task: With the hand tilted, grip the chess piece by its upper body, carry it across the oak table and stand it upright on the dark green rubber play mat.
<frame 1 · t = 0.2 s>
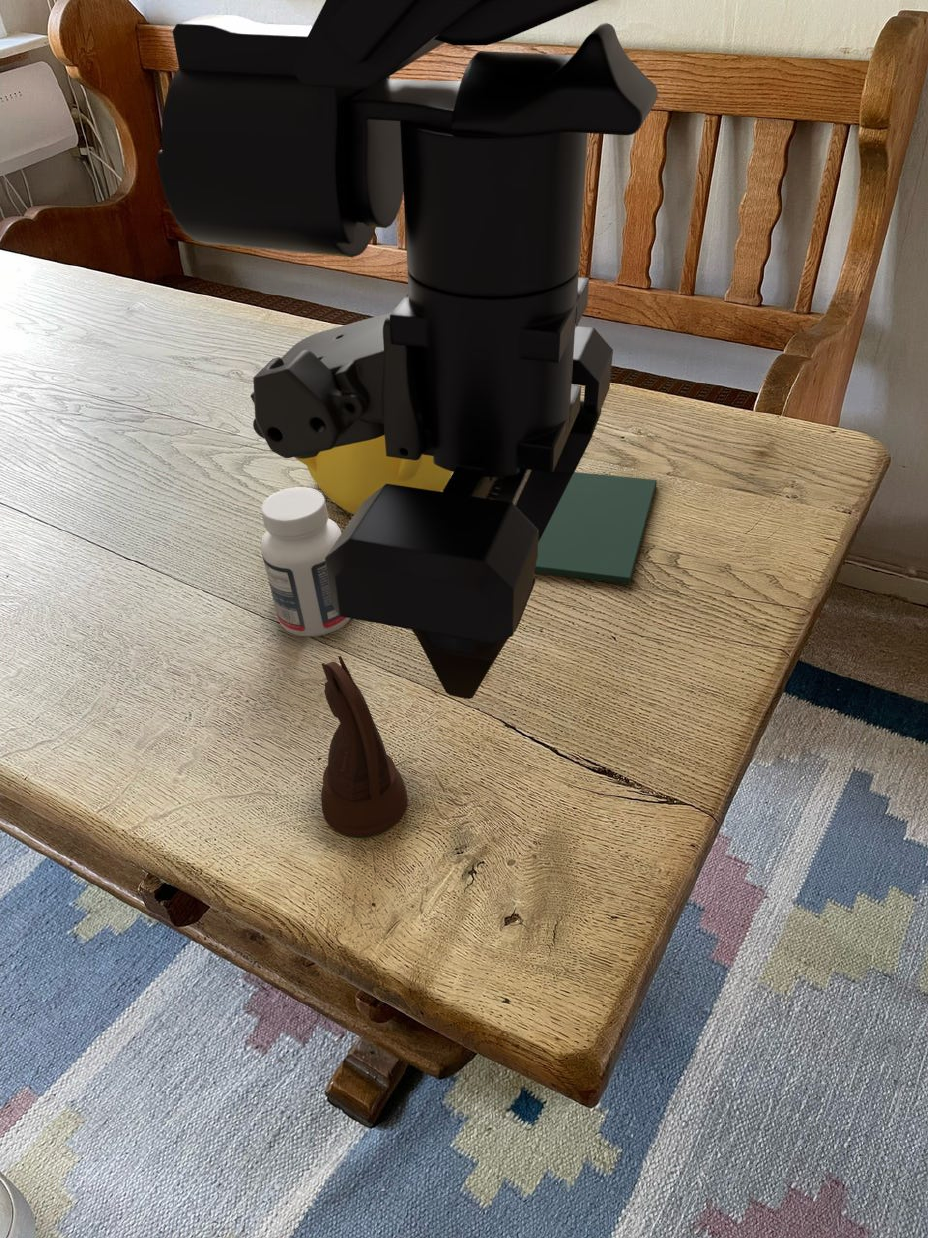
hand: (490, 623, 42), 13 cm above the table, tool pointing down, fingers open, 9 cm apart
teapot: (378, 484, 78), on the table
pill bottle: (317, 616, 65), on the table
chess piece: (368, 811, 52), on the table
play mat: (563, 523, 72), on the table
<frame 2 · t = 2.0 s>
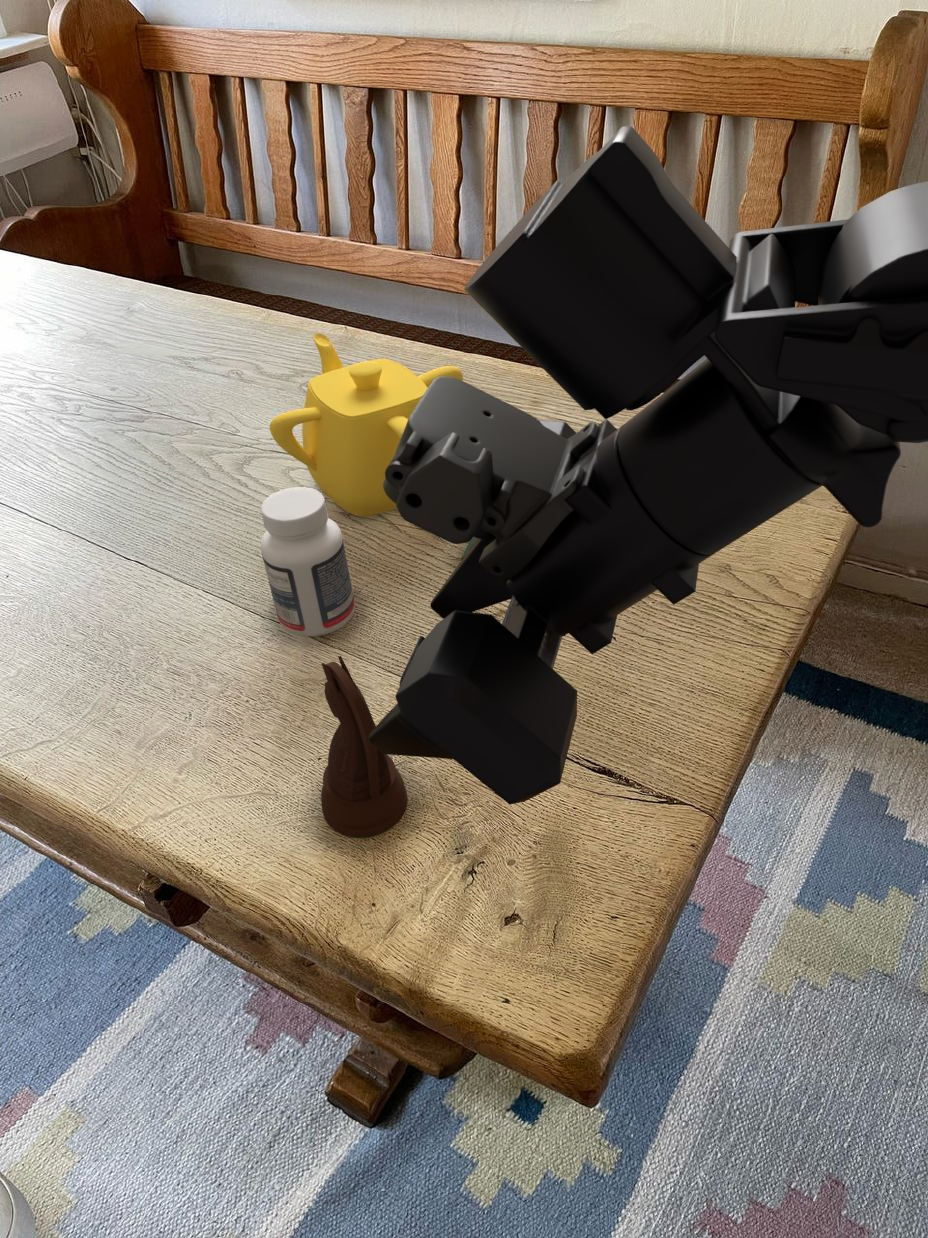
hand: (409, 672, 44), 11 cm above the table, tool tilted 45°, fingers open, 9 cm apart
nothing on the table moved.
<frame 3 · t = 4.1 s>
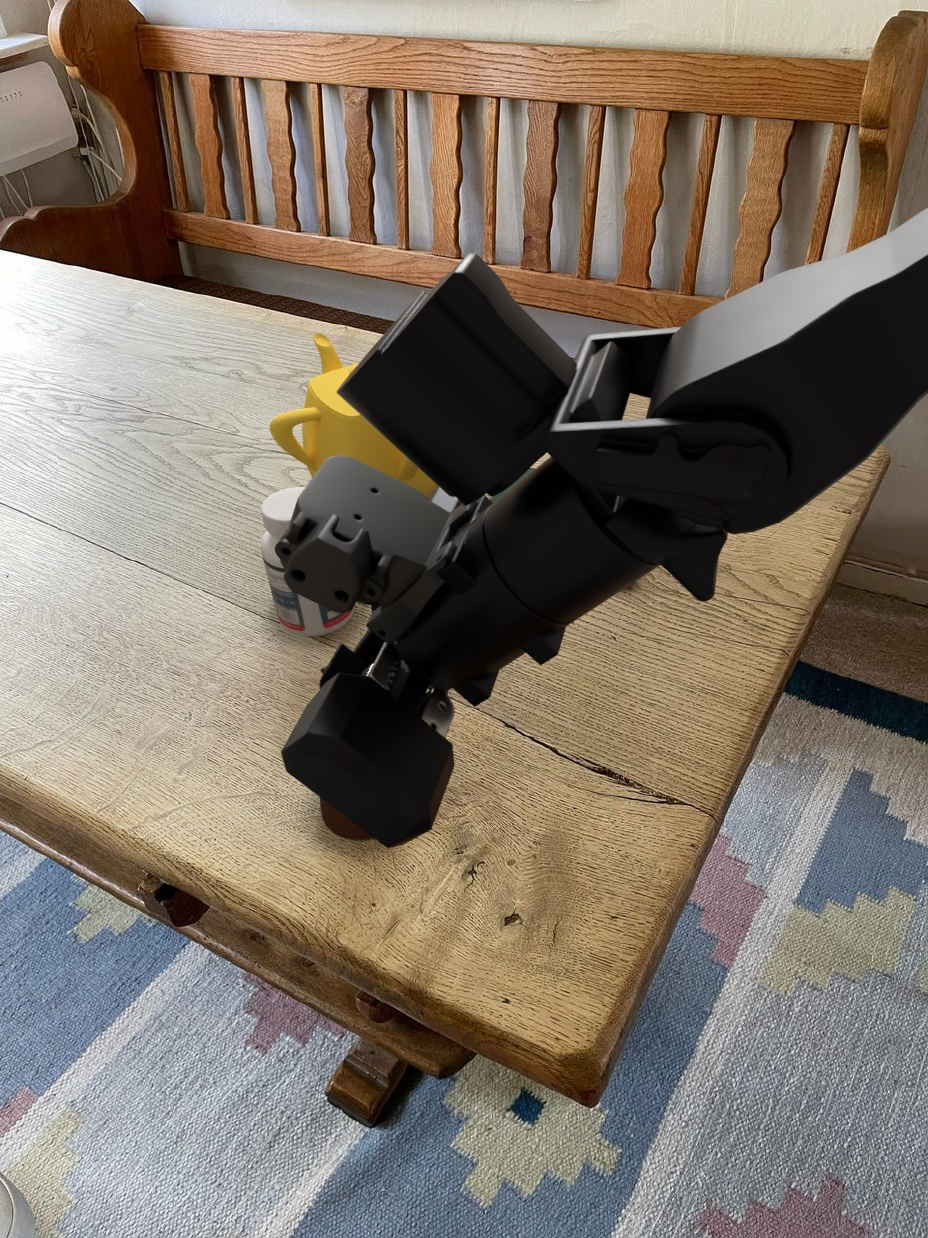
hand: (322, 716, 48), 7 cm above the table, tool tilted 45°, fingers closed on chess piece, 2 cm apart
chess piece: (367, 812, 52), on the table, touching gripper
everything else where it was.
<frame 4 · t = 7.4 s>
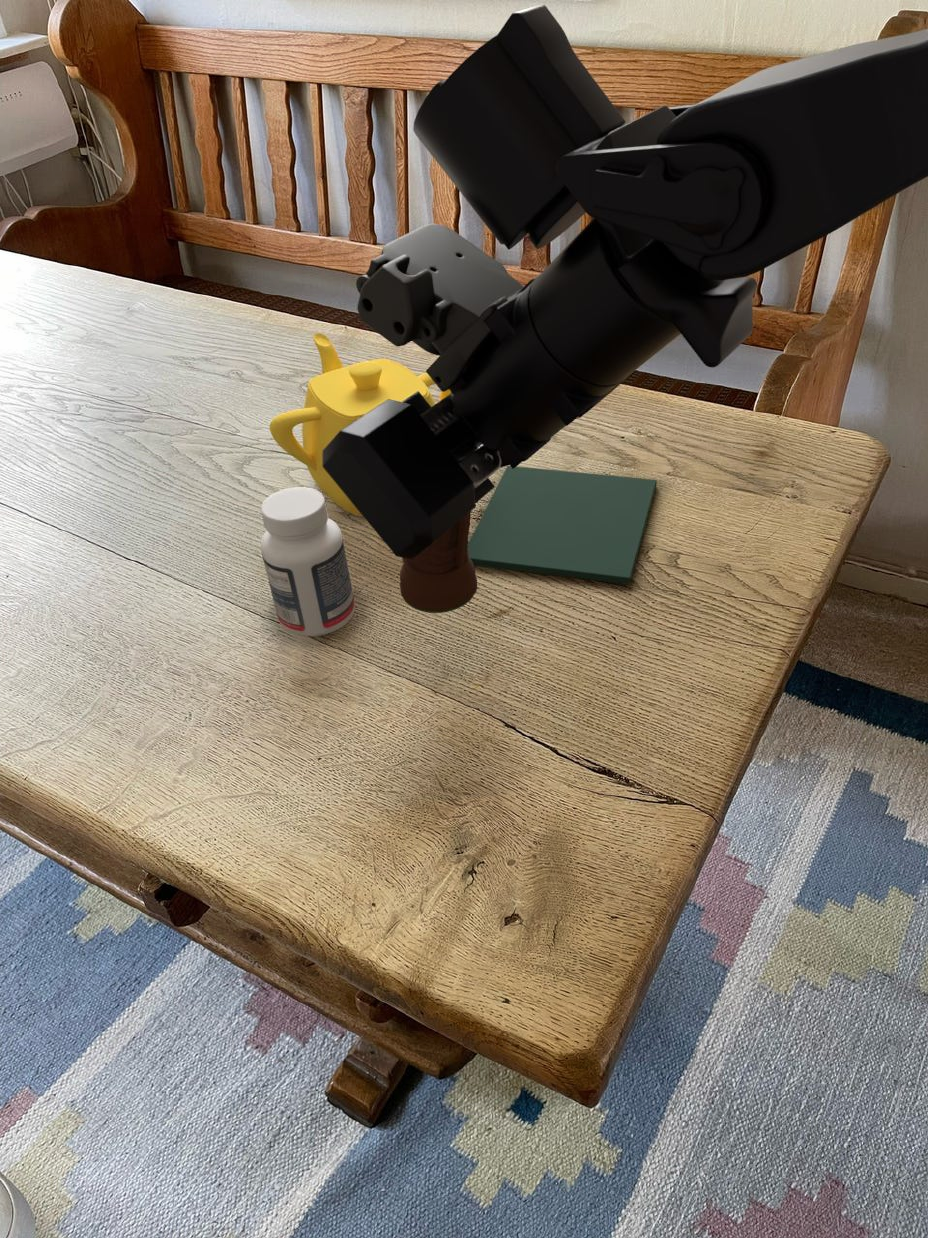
hand: (407, 486, 54), 12 cm above the table, tool tilted 45°, fingers closed on chess piece
chess piece: (442, 593, 57), point 5 cm above the table, touching gripper
everything else where it was.
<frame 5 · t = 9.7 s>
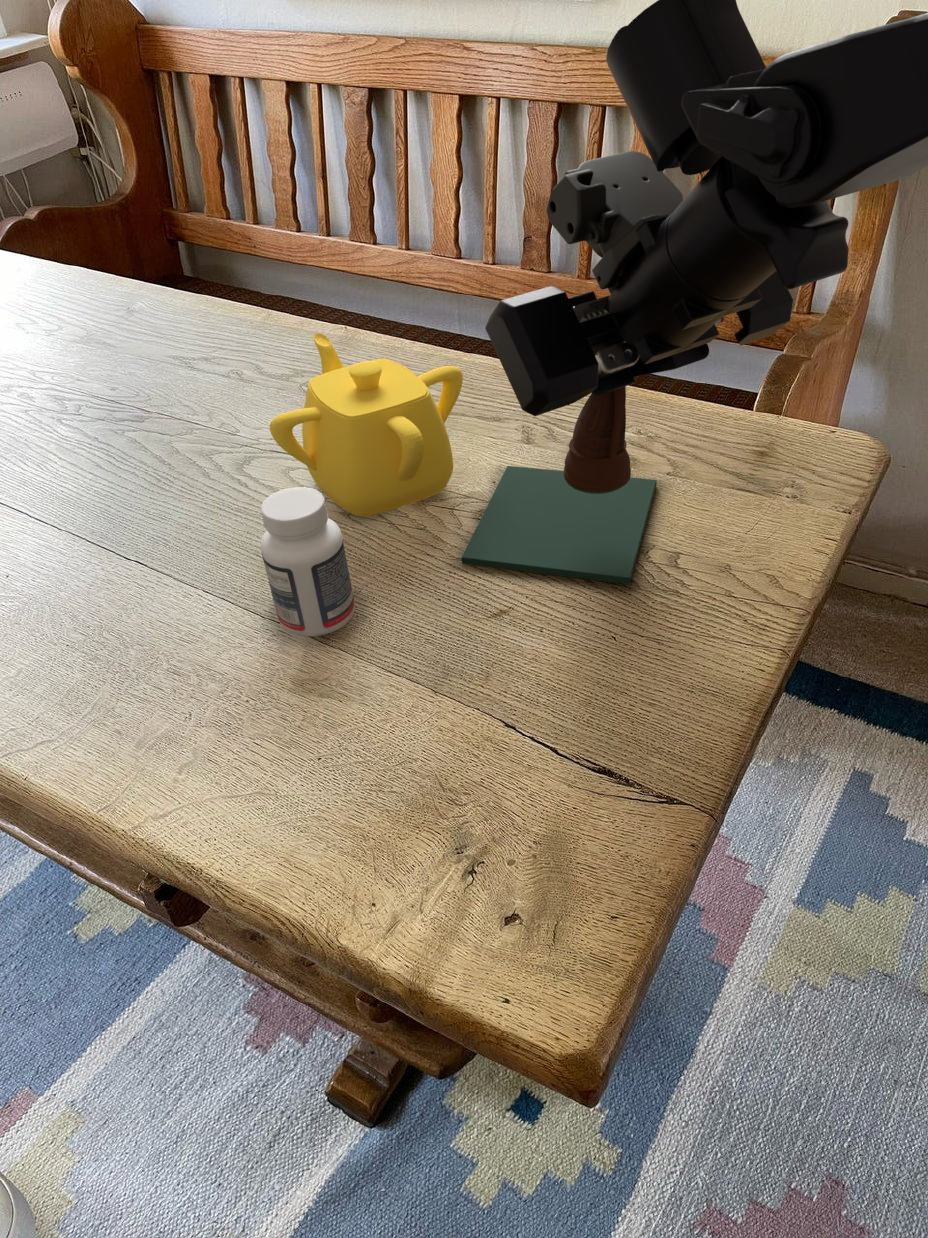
hand: (584, 379, 63), 12 cm above the table, tool tilted 45°, fingers closed on chess piece
chess piece: (598, 480, 67), point 5 cm above the table, touching gripper
everything else where it was.
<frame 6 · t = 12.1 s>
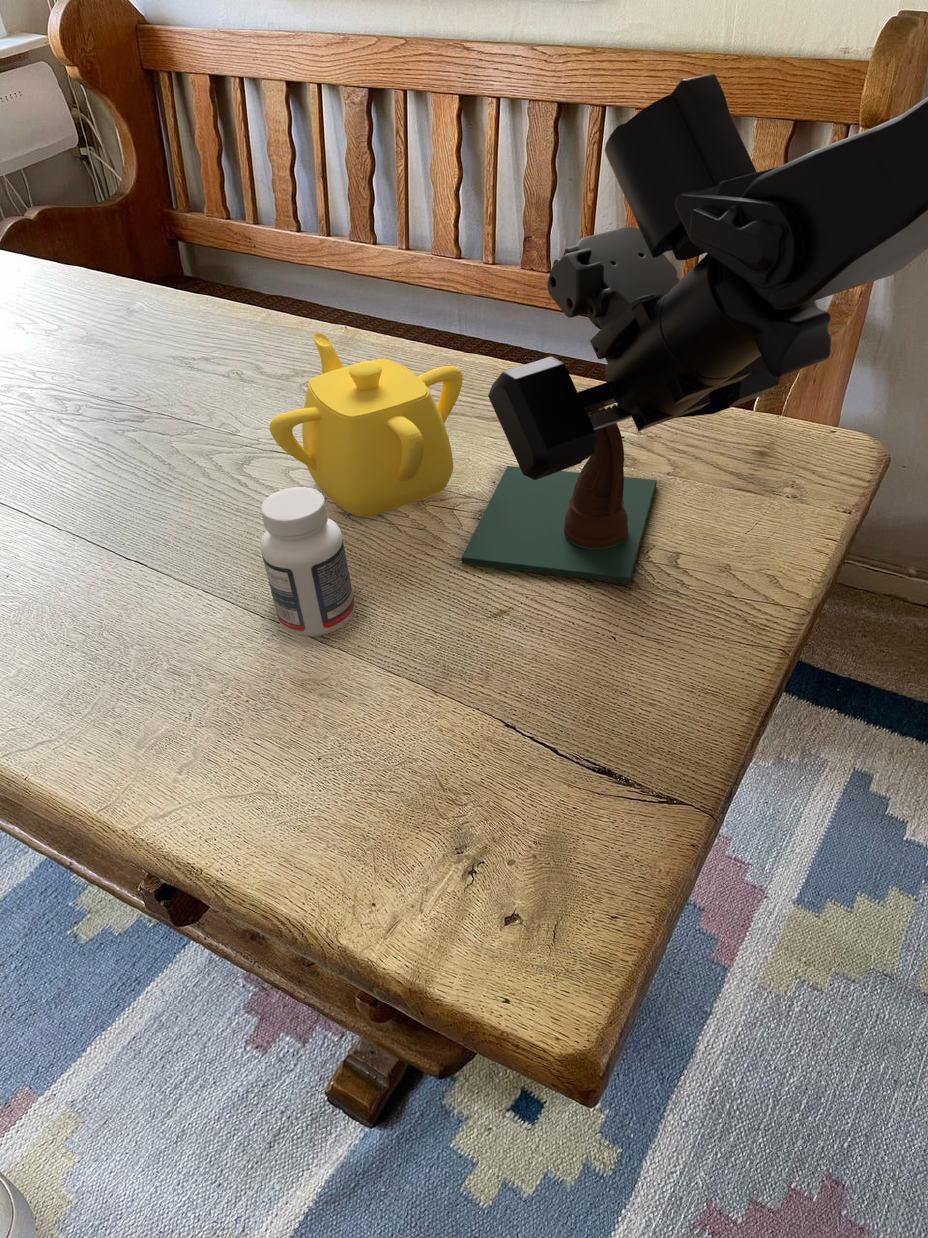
hand: (582, 433, 66), 8 cm above the table, tool tilted 45°, fingers open, 9 cm apart
chess piece: (597, 536, 69), resting on play mat
everything else where it was.
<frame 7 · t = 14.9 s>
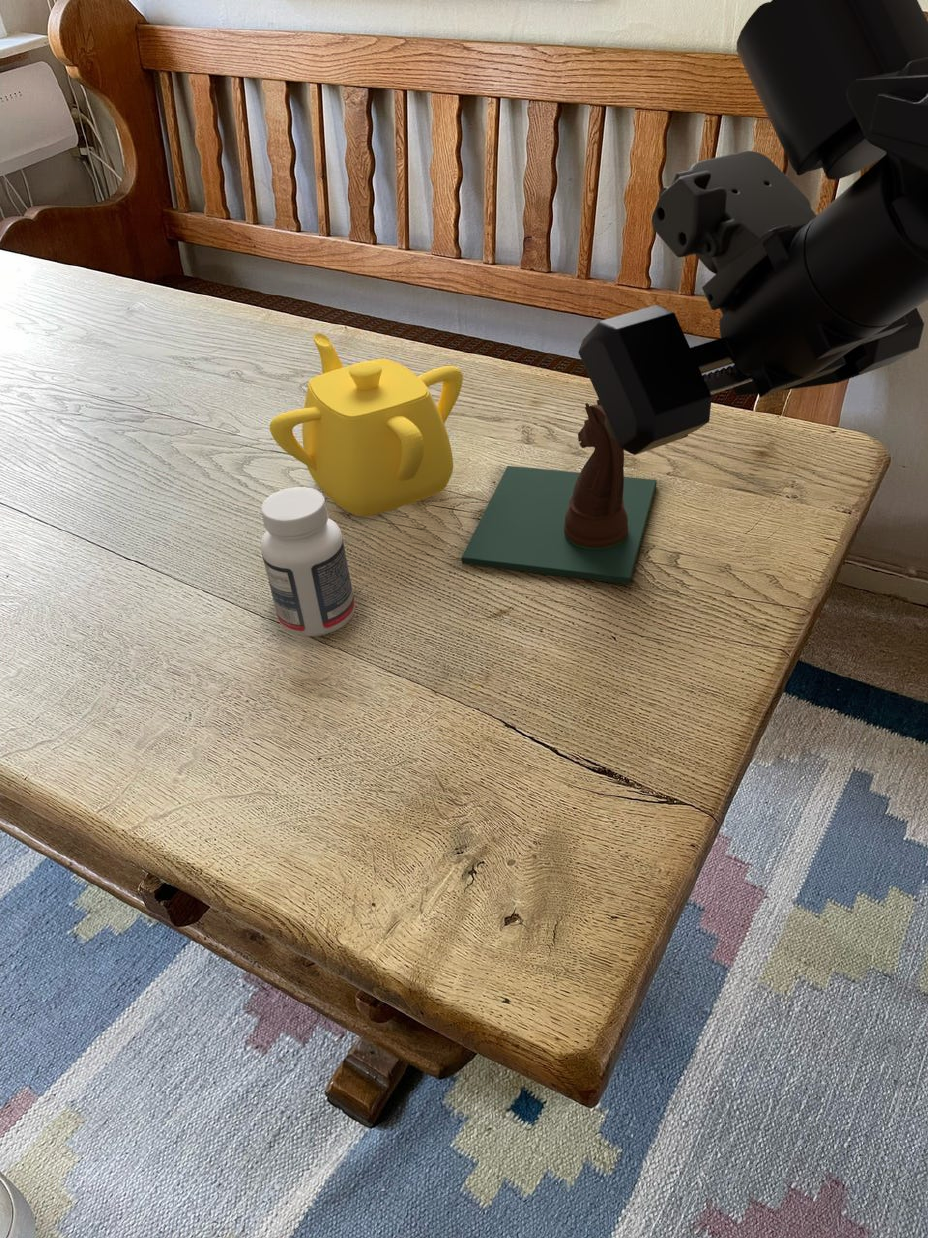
hand: (673, 408, 56), 14 cm above the table, tool tilted 45°, fingers open, 9 cm apart
nothing on the table moved.
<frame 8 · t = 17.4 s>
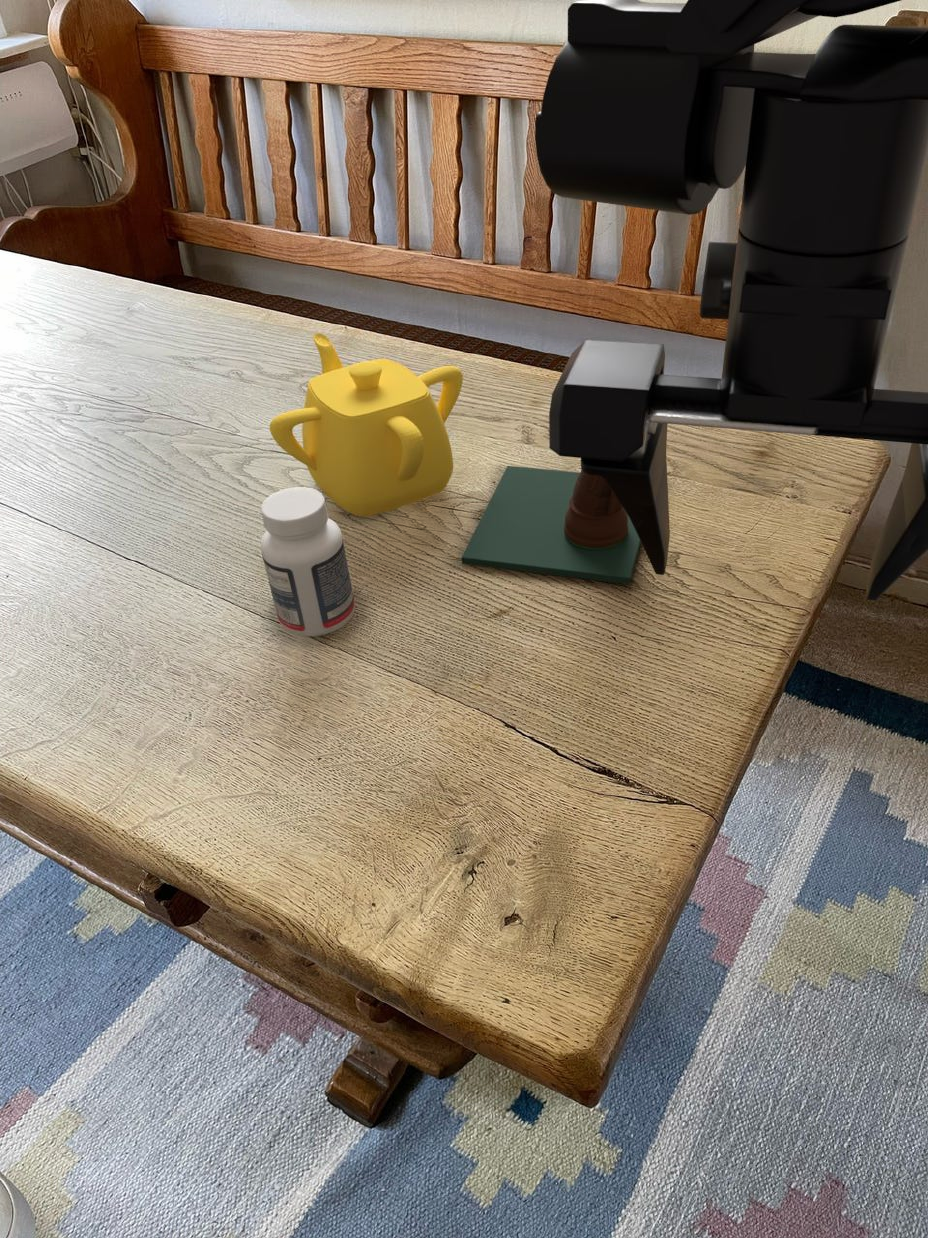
hand: (763, 581, 44), 13 cm above the table, tool pointing down, fingers open, 9 cm apart
nothing on the table moved.
at the end: chess piece inside the target area on the play mat (3.4 cm from its centre), point 0.4 cm above the play mat's base; chess piece tilted 0°; the gripper is holding nothing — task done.
